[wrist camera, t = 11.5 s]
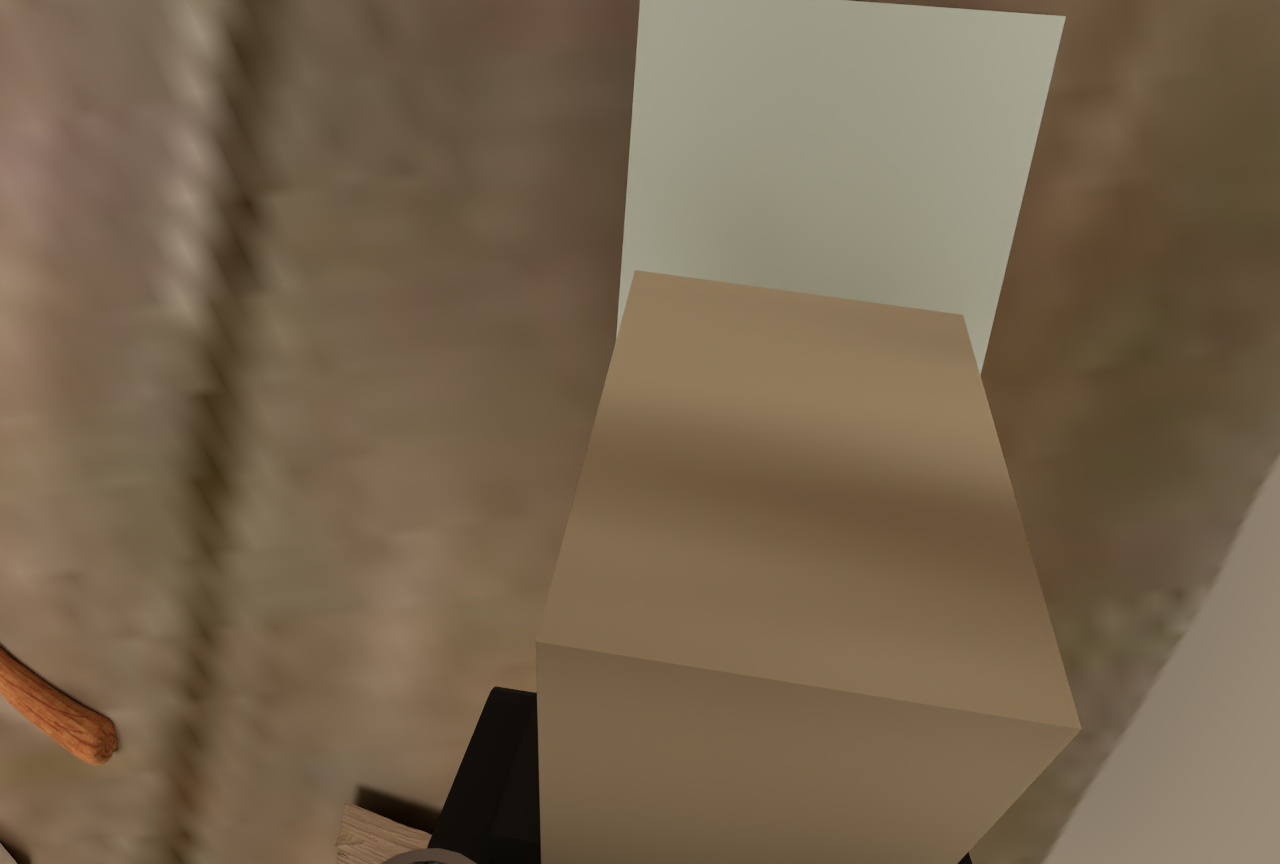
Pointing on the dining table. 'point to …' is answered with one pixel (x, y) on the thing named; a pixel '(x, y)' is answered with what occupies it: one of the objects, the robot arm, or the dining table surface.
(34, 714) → the axe
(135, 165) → the dining table surface
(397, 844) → the wood plank
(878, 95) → the board
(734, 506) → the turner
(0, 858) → the crystal
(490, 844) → the robot arm
